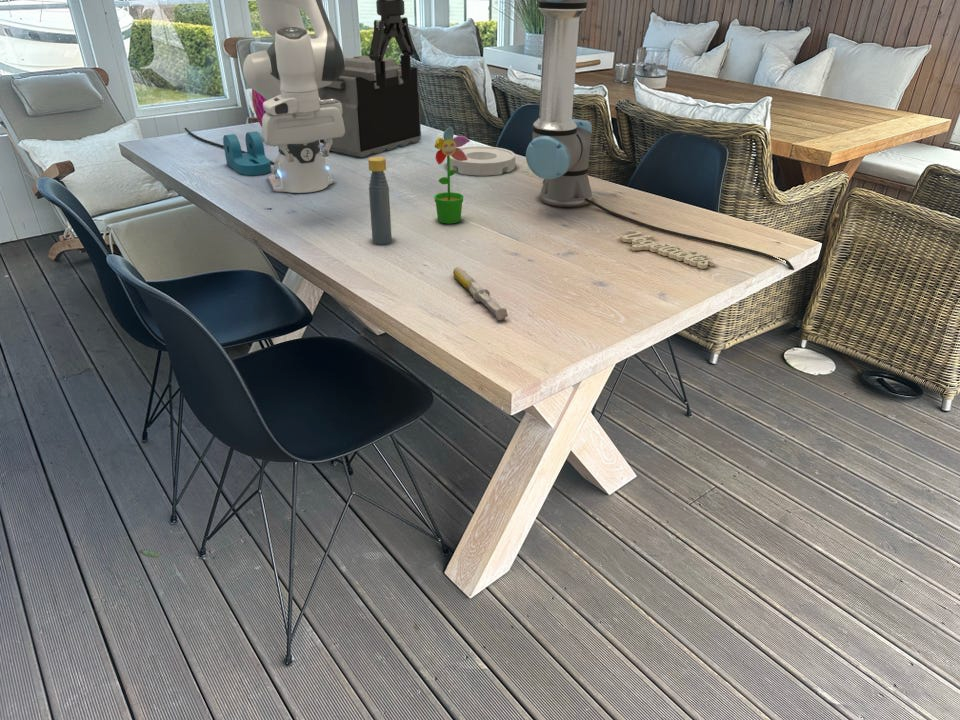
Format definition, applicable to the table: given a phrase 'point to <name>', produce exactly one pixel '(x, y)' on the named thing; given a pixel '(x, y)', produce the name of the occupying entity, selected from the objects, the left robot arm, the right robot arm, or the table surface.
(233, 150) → the camera mount
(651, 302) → the table surface
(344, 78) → the cooler box
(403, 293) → the table surface
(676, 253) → the decorative sign
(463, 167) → the ashtray
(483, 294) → the syringe
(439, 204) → the potted flower
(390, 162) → the table surface
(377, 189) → the bottle
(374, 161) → the cap
